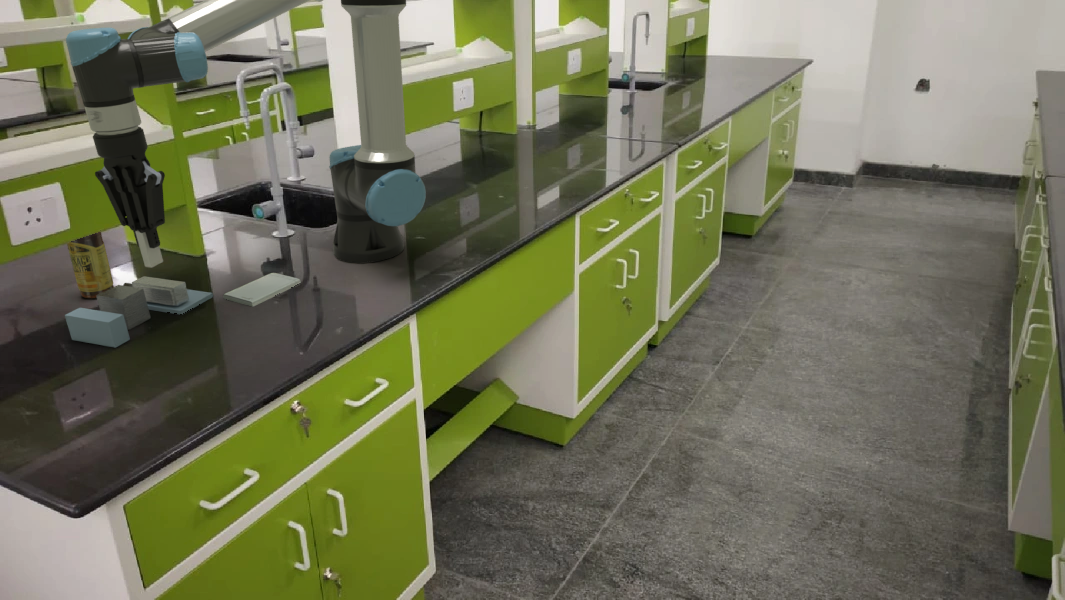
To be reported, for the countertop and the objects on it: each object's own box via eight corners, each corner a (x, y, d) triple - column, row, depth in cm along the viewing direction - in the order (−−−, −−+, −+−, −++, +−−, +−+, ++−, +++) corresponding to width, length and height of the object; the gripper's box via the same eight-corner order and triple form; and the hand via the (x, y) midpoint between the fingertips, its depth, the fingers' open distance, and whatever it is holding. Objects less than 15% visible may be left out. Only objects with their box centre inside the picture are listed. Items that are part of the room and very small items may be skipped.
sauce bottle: (73, 297, 159) (45, 200, 151) (100, 285, 164) (74, 191, 156) (97, 302, 157) (69, 203, 148) (123, 290, 162) (98, 194, 153)
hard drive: (251, 301, 152) (300, 278, 161) (222, 293, 156) (271, 271, 165) (253, 309, 153) (301, 285, 162) (223, 301, 156) (272, 278, 166)
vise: (213, 296, 157) (208, 273, 155) (122, 348, 138) (115, 323, 136) (161, 289, 161) (155, 266, 160) (65, 338, 142) (58, 314, 140)
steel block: (150, 318, 149) (143, 288, 147) (129, 330, 145) (121, 299, 142) (126, 314, 151) (118, 284, 149) (104, 325, 147) (96, 295, 145)
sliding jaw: (189, 299, 153) (185, 282, 152) (176, 306, 150) (171, 289, 149) (133, 291, 158) (129, 274, 156) (120, 298, 155) (115, 280, 153)
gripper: (68, 133, 130) (108, 269, 140) (130, 136, 125) (167, 276, 135) (105, 122, 136) (141, 253, 146) (165, 125, 132) (199, 259, 142)
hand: (154, 264), depth 141 cm, fingers closed
